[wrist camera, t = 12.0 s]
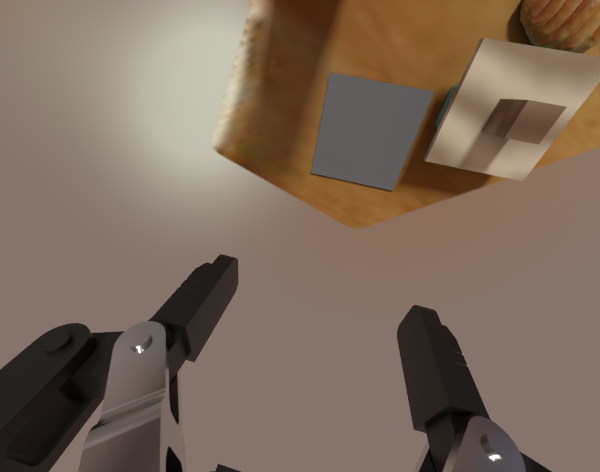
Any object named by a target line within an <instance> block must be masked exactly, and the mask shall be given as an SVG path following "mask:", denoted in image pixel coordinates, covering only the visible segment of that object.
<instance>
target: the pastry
mask: <svg viewBox="0 0 600 472" xmlns="http://www.w3.org/2000/svg"><path fill="white" fill-rule="evenodd" d="M520 21H521V23H522V24H523V27H524V28H525V31H526V35H527V36H528V38H529V42H530V43H531V44H533V45H534V46H537V47H543V48H549V49H555V50H562V51H568V52H574V53H580V54H583V53H584V52H585V51H586V50H588V49H589V48H591V47H593V46H595V45H596V44H597V43H599V42H600V0H524V1H523V3H522V7H521V11H520Z"/></svg>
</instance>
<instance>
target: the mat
mask: <svg viewBox="0 0 600 472" xmlns="http://www.w3.org/2000/svg"><path fill="white" fill-rule="evenodd" d="M433 95H434V91H428V90H423V89H417V88H412V87H406V86H401V85H395V84H390V83H384V82H379V81H373V80H368V79H362V78H357V77H351V76H346V75H340V74H335V73H330V75H329V80H328V86H327V91H326V96H325V102H324V107H323V113H322V118H321V123H320V129H319V134H318V139H317V145H316V150H315V156H314V161H313V166H312V172H311V173H314V174H318V175H323V176H327V177H332V178H336V179H341V180H346V181H350V182H355V183H359V184H364V185H368V186H373V187H377V188H382V189H387V190H391V191H393V189H394V187H395V184H396V182H397V179H398V177H399V175H400V172H401V170H402V168H403V165H404V163H405V161H406V158H407V156H408V154H409V151H410V149H411V146H412V144H413V142H414V139H415V137H416V135H417V132H418V130H419V128H420V125H421V123H422V121H423V118H424V116H425V113H426V111H427V109H428V106H429V104H430V102H431V99H432V97H433Z"/></svg>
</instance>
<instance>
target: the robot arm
mask: <svg viewBox="0 0 600 472" xmlns="http://www.w3.org/2000/svg"><path fill="white" fill-rule="evenodd" d="M237 285H238V260H237V258H233V257H229V256H226V255H219V256H218V257H217V259H216V260H215V261H214V262H213V263H212V264H210V263H205V264H203V265H201V266H200V267H198V268H196V269H195V270H194V271H193V272H192V273H191V274H190V276H189V277H188V278H187V280H185V281H184V282H183V283H182V284H181V287H179V288H178V289H177V290H176V291H175V292H174V293H173V295H172V296H171V297H170V298H169V299H168V300H167V301H166V302H165V304H164V305H163V306H162V307H161V308H160V309H159V310H158V311H157V313H156V314H155V315H154V316H153V317H152V318H151V319H150V320H148V321H147V322H142V323H139V324H136V325H134V326H132V327H130V328H129V329H127V330H126V331H122V332H104V333H91V332H90V330H89V329H88V328H87V326H85V325H83V324H79V323H72V324H66V325H62V326H59V327H57V328H55V329H52V330H50V331H48V332H46V333H45V334H43V335H42V336H40V337H39V338H38V339H37V340H35V341H34V342H33V343H32V344H31V345H29V346H28V347H27V348H26V349H25V350H23V351H22V352H21V353H20V354H19V355H17V356H16V357H15V358H14V359H13V360H11V361H10V362H9V363H8V364H7V365H5V366H4V367H3V368H2V369H1V370H0V472H49V471H50V469H51V468H52V466H53V465H54V464H55V463H56V461H57V460H58V459H59V457H60V456H61V455H62V453H63V452H64V451H65V449H66V448H67V446H68V445H69V444H70V443H71V441H72V440H73V439H74V437H75V436H76V435H77V433H78V432H79V431H80V429H81V428H82V427H83V425H84V424H85V423H86V421H87V420H88V419H89V417H90V416H91V415H92V413H93V412H94V411H95V409H96V408H97V407H98V405H99V404H100V403H101V402H102V400H103V399H104V402H103V408H102V413H101V417H100V420H99V422H98V424H96V425H95V426H93V427H92V428H91V430H90V431H89V433H88V435H87V438H86V440H85V444H84V447H83V452H82V457H81V461H80V466H79V471H78V472H186V460H185V446H184V438H183V432H182V424H181V401H180V378H179V369H180V368H181V366H182V364H183V363H184V361H185V360H189V361H193V362H195V360H196V359H197V356H198V355H199V354H200V352H201V350H202V348H203V346H204V345H205V343H206V342H207V340H208V338H209V336H210V335H211V333H212V331H213V330H214V328H215V326H216V325H217V323H218V321H219V319H220V318H221V316H222V314H223V312H224V311H225V309H226V307H227V306H228V304H229V302H230V301H231V299H232V297H233V295H234V294H235V292H236V289H237ZM397 340H398V345H399V350H400V356H401V362H402V367H403V373H404V378H405V383H406V389H407V394H408V400H409V405H410V411H411V416H412V421H413V427H414V430H417V431H421V432H424V433H426V434H427V438H428V443H427V444H426V445H425V446H424V449H423V451H422V453H421V455H420V457H419V459H418V462H417V464H416V467H415V468H414V471H413V472H551V471H550V470H548V469H546V468H545V467H543V466H542V465H540V464H539V463H537V462H535V461H534V460H532V459H531V458H529V457H527V456H526V455H524V454H523V453H521V452H520V451H519V450H518V448H517V446H516V445H515V443H514V442H513V440H512V439H511V438H510V437H509V435H508V434H507V433H506V432H505V431H504V430H503V429H502V428H501V427H499V426H498V425H497V424H496V423H494V422H493V421H491V419H490V418H489V415H488V413H487V411H486V409H485V406H484V404H483V402H482V399H481V397H480V394H479V392H478V390H477V387H476V385H475V383H474V380H473V378H472V376H471V373H470V371H469V369H468V367H467V366H466V365H467V364H466V361H465V359H464V356H463V355H462V352H461V349H460V347H459V345H458V342H457V340H456V338H455V337H454V336H453V334H452V333H451V332H450V331H449V329H448V328H447V327H446V326H444V325H441V322H440V319H439V317H438V314H437V313H436V311H435V310H433V309H429V308H425V307H421V306H418V305H414V306H413V307H412V308H411V309H410V311H409V312H408V313H407V315H406V316H405V318H404V319H403V320H402V322H401V323H400V325H399V327H398V331H397ZM212 472H240V471H237V470H234V469H231V468H229V467H226V466H223V465H219V464H218V466H217V468H216V471H212Z"/></svg>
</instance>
